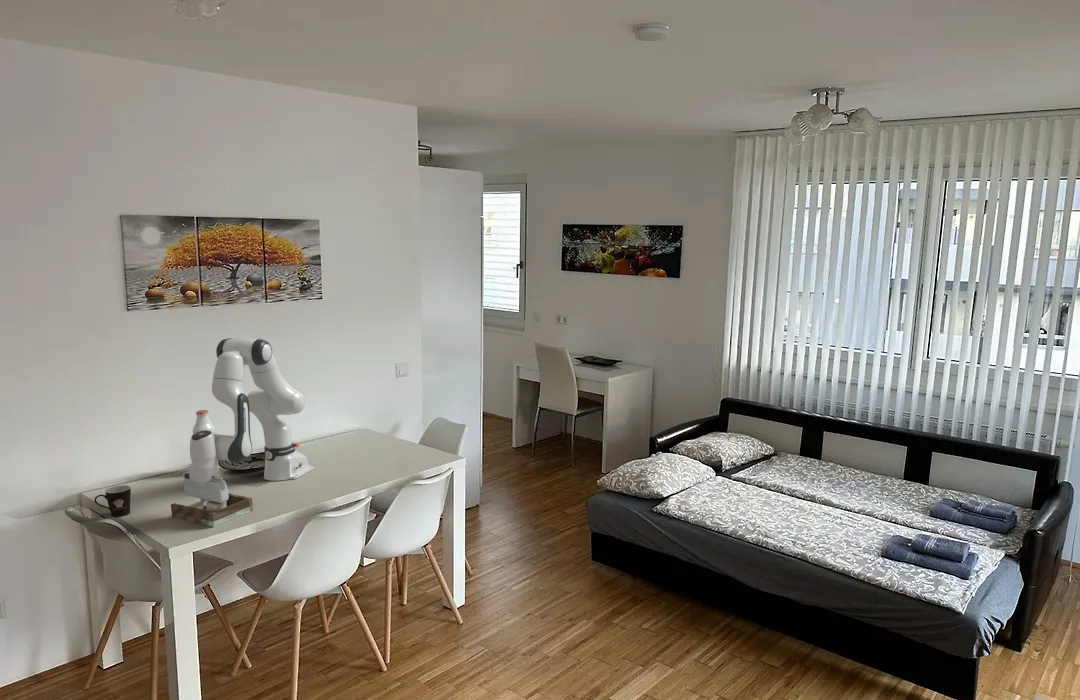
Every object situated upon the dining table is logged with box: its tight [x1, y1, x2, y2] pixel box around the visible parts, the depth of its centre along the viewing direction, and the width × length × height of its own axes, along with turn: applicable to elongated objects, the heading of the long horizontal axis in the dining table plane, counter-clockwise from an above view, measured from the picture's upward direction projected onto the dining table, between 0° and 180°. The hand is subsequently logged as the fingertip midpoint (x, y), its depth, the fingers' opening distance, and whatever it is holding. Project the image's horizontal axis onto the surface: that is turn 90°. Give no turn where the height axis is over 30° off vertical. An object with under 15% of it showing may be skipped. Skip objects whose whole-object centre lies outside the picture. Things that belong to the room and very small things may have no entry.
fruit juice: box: [192, 409, 219, 471], centre depth 332 cm, size 9×9×28 cm
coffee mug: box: [94, 484, 132, 518], centre depth 283 cm, size 12×9×10 cm
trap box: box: [170, 492, 254, 528], centre depth 283 cm, size 23×18×5 cm
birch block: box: [206, 501, 227, 512], centre depth 276 cm, size 5×5×5 cm
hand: (208, 509), depth 278 cm, fingers closed
